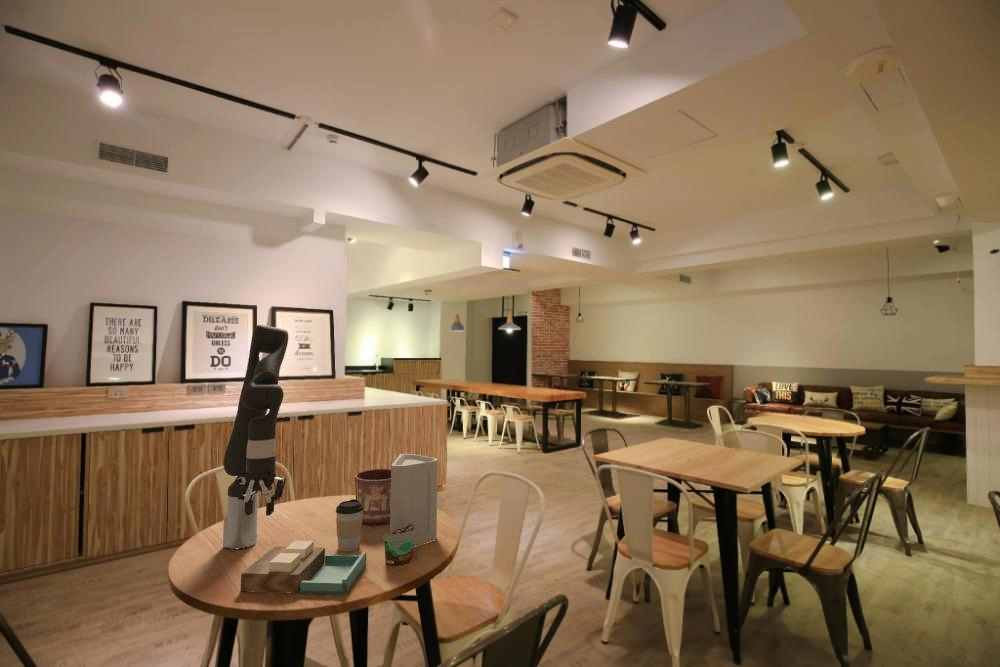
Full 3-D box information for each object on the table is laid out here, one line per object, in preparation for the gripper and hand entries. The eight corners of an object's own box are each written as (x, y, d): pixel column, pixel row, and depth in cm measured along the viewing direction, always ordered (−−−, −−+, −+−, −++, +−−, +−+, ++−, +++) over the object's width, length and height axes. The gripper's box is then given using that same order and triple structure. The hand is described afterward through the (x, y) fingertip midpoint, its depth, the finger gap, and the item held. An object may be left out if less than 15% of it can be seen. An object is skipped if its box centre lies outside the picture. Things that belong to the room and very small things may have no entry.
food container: (396, 571, 142) (397, 538, 142) (382, 566, 145) (382, 533, 145) (423, 557, 152) (424, 525, 153) (409, 552, 155) (410, 521, 156)
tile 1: (269, 571, 130) (269, 562, 130) (279, 561, 136) (280, 553, 136) (290, 571, 130) (290, 562, 130) (300, 562, 136) (300, 553, 136)
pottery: (347, 517, 187) (348, 472, 188) (388, 509, 198) (389, 466, 198) (362, 532, 173) (364, 482, 174) (406, 522, 183) (408, 476, 184)
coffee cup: (354, 553, 154) (355, 507, 154) (329, 551, 156) (330, 505, 156) (367, 543, 163) (368, 499, 163) (343, 540, 164) (344, 497, 165)
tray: (300, 593, 128) (300, 578, 128) (326, 564, 146) (326, 550, 146) (345, 594, 128) (345, 579, 128) (366, 565, 146) (366, 551, 146)
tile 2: (284, 557, 139) (285, 548, 139) (294, 548, 145) (294, 540, 145) (304, 557, 139) (305, 549, 139) (313, 549, 145) (313, 541, 145)
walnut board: (240, 591, 129) (241, 573, 129) (273, 562, 147) (274, 546, 147) (298, 593, 128) (298, 574, 128) (324, 564, 146) (325, 547, 146)
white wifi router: (433, 550, 157) (435, 466, 159) (388, 550, 157) (390, 465, 158) (438, 529, 176) (440, 453, 178) (398, 529, 176) (400, 453, 177)
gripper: (228, 456, 131) (226, 518, 130) (279, 457, 131) (277, 519, 130) (244, 451, 139) (242, 509, 138) (292, 452, 138) (290, 510, 138)
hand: (259, 514), depth 134 cm, fingers open, 5 cm apart
